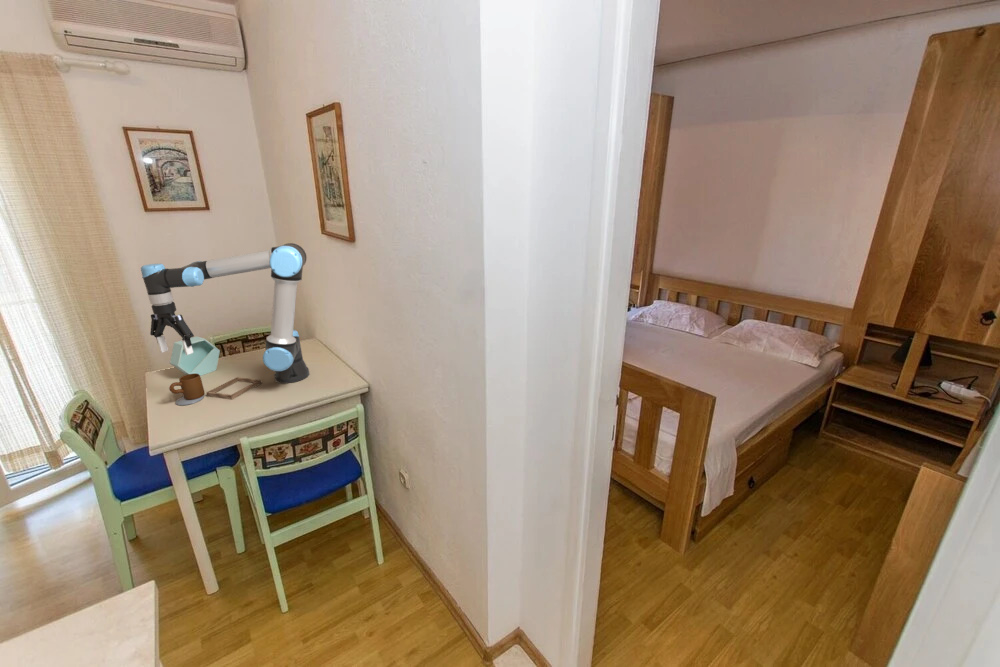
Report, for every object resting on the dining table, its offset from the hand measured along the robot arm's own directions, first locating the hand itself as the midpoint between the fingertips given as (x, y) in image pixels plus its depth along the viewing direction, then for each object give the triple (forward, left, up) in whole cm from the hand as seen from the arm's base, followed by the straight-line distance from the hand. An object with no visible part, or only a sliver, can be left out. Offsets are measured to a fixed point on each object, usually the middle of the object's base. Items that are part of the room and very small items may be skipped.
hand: (177, 352), depth 181 cm
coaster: (0, 0, -22) cm, 22 cm away
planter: (+22, -24, -22) cm, 40 cm away
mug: (0, 0, -22) cm, 22 cm away
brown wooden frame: (-11, -13, -22) cm, 28 cm away
